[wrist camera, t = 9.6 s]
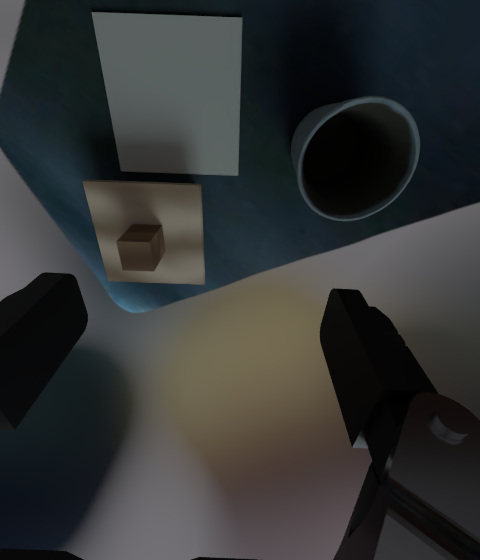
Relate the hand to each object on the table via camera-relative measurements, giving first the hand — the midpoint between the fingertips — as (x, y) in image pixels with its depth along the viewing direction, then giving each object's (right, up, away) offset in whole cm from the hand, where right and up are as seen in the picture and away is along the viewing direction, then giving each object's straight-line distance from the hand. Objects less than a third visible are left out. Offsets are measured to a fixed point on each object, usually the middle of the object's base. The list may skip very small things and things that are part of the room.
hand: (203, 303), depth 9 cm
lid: (-10, +6, +26) cm, 28 cm away
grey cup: (+12, +17, +25) cm, 33 cm away
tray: (-6, +21, +23) cm, 32 cm away
